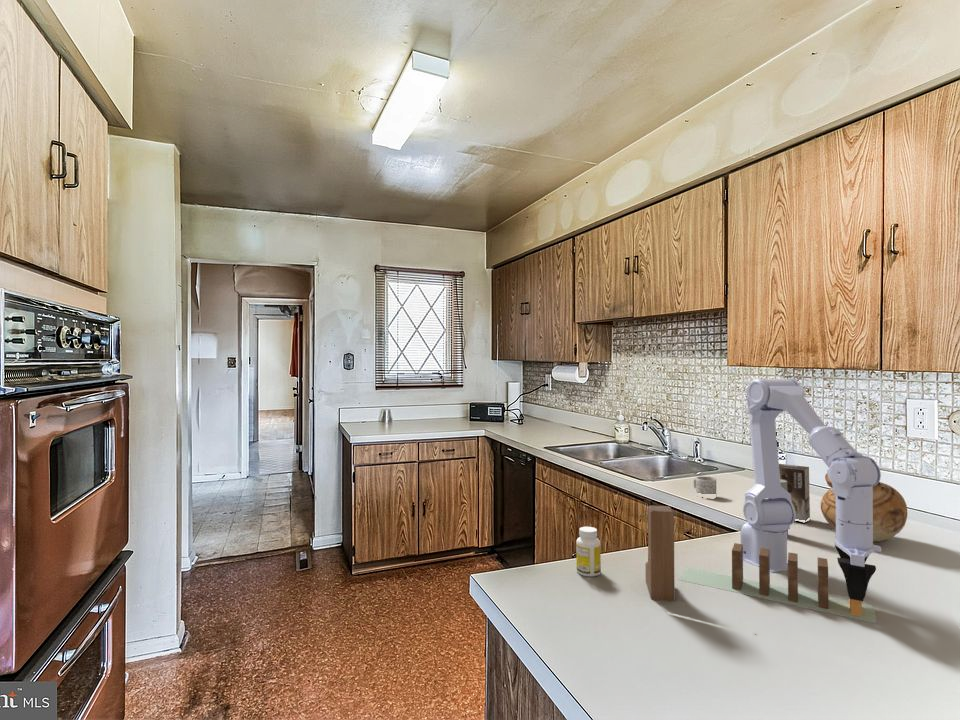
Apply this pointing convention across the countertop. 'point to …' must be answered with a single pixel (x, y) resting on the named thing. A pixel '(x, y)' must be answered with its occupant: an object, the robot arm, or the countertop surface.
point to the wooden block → (660, 553)
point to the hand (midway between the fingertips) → (854, 591)
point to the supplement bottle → (588, 552)
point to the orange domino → (855, 607)
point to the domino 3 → (793, 577)
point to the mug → (705, 485)
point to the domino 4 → (823, 583)
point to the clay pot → (874, 510)
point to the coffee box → (797, 488)
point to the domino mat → (776, 594)
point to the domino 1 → (737, 566)
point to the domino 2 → (764, 571)
